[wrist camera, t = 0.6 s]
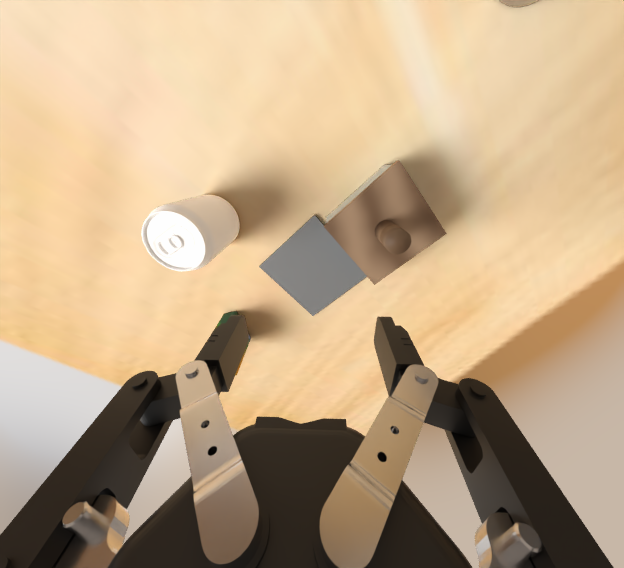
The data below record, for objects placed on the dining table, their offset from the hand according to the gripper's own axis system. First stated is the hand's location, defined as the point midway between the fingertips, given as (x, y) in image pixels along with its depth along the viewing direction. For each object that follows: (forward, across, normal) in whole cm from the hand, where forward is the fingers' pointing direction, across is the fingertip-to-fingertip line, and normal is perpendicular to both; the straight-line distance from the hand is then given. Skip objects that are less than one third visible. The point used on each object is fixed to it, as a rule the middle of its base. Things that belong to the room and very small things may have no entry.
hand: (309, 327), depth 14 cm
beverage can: (+26, +16, -1) cm, 30 cm away
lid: (+20, -9, -1) cm, 22 cm away
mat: (+26, +1, +8) cm, 27 cm away
